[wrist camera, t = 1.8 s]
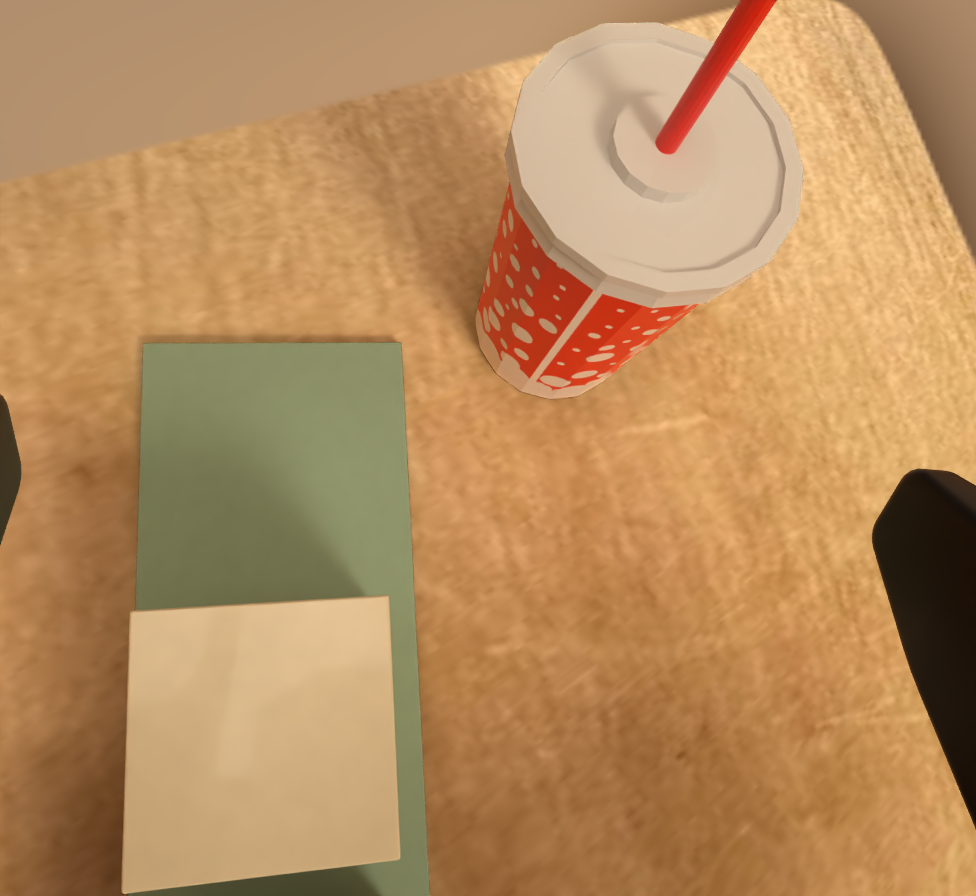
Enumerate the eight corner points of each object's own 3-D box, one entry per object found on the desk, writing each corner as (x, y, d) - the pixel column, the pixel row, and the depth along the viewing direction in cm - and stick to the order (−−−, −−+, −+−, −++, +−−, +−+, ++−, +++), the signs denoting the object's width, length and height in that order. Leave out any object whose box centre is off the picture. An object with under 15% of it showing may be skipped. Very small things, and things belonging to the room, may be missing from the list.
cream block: (385, 814, 20) (400, 860, 16) (173, 837, 19) (120, 895, 15) (376, 609, 22) (388, 594, 17) (176, 622, 21) (129, 610, 16)
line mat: (446, 1231, 19) (447, 1240, 18) (118, 1301, 17) (114, 1311, 17) (400, 346, 24) (401, 342, 24) (145, 347, 22) (142, 342, 22)
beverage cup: (673, 290, 26) (1030, -106, 13) (604, 458, 24) (938, 205, 11) (498, 203, 26) (676, -298, 12) (415, 367, 24) (517, -11, 10)
